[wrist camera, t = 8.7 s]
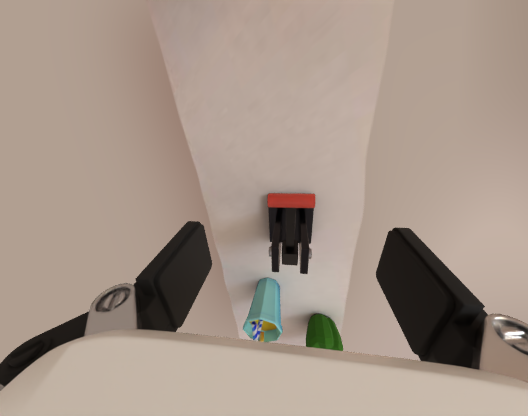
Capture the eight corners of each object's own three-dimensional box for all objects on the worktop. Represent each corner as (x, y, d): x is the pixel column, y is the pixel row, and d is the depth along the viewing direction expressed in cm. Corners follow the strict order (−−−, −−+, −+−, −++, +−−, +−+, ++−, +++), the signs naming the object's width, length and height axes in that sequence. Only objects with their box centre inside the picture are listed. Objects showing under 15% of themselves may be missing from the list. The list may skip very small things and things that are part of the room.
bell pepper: (329, 306, 46) (337, 352, 37) (342, 326, 49) (353, 373, 40) (297, 313, 49) (299, 358, 40) (311, 332, 52) (315, 377, 43)
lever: (268, 188, 22) (266, 202, 20) (314, 188, 21) (316, 203, 19) (273, 250, 30) (272, 264, 28) (306, 251, 29) (307, 266, 27)
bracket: (268, 193, 35) (258, 229, 24) (313, 193, 34) (323, 231, 23) (270, 238, 39) (262, 284, 29) (310, 240, 38) (316, 288, 28)
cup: (248, 260, 43) (228, 327, 30) (282, 260, 42) (278, 331, 28) (255, 301, 49) (241, 372, 36) (285, 303, 48) (283, 377, 35)
